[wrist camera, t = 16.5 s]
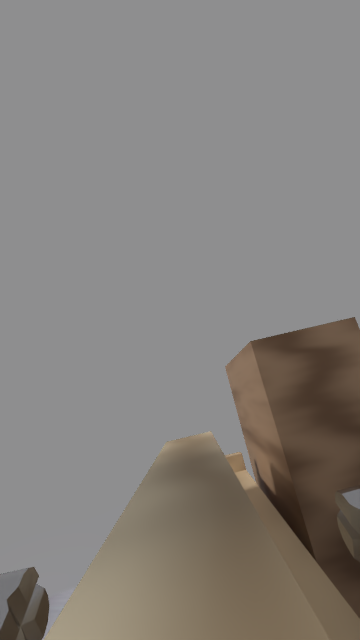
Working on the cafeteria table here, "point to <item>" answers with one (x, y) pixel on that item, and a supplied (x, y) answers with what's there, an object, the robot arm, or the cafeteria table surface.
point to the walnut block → (305, 434)
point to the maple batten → (188, 563)
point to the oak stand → (301, 563)
